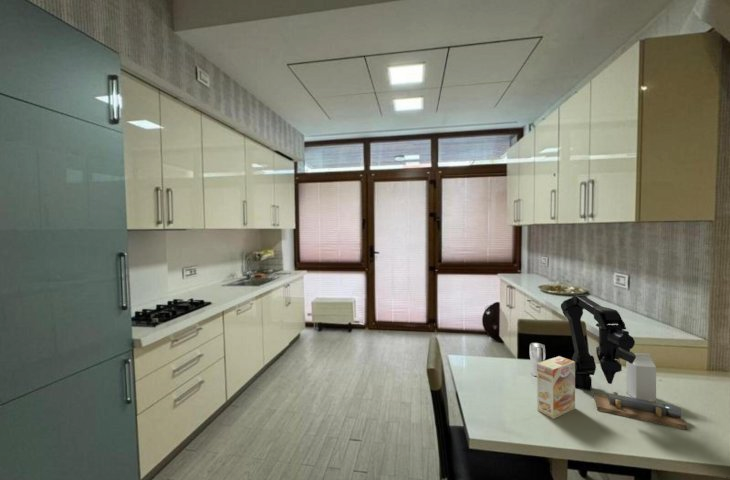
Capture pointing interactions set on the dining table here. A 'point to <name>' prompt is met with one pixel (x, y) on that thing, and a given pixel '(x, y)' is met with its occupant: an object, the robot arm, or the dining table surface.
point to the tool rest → (636, 412)
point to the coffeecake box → (556, 386)
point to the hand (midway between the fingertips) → (608, 378)
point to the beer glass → (536, 356)
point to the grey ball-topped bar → (645, 405)
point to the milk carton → (641, 377)
